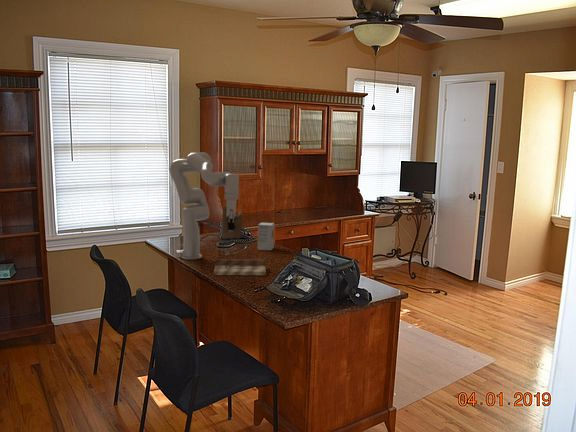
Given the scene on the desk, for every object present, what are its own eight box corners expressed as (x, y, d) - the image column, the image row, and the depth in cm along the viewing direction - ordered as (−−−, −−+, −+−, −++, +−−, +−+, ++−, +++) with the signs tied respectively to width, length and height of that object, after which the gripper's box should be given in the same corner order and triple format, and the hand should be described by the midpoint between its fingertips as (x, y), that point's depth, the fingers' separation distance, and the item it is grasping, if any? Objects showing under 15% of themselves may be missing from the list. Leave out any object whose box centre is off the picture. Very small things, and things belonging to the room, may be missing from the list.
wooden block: (241, 238, 282) (242, 206, 279) (222, 238, 279) (223, 206, 276) (239, 236, 286) (240, 205, 283) (221, 237, 282) (221, 205, 279)
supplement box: (271, 250, 330) (271, 225, 327) (257, 249, 331) (257, 224, 328) (273, 247, 339) (274, 222, 336) (260, 246, 341) (261, 222, 338)
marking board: (213, 274, 272) (213, 265, 271) (215, 267, 286) (215, 259, 285) (265, 275, 274) (266, 266, 273) (265, 268, 288) (265, 259, 287)
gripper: (224, 194, 286) (224, 225, 289) (224, 198, 269) (224, 231, 273) (238, 194, 287) (237, 225, 290) (238, 198, 270) (238, 231, 273)
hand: (231, 228), depth 281 cm, fingers closed on wooden block, 4 cm apart
